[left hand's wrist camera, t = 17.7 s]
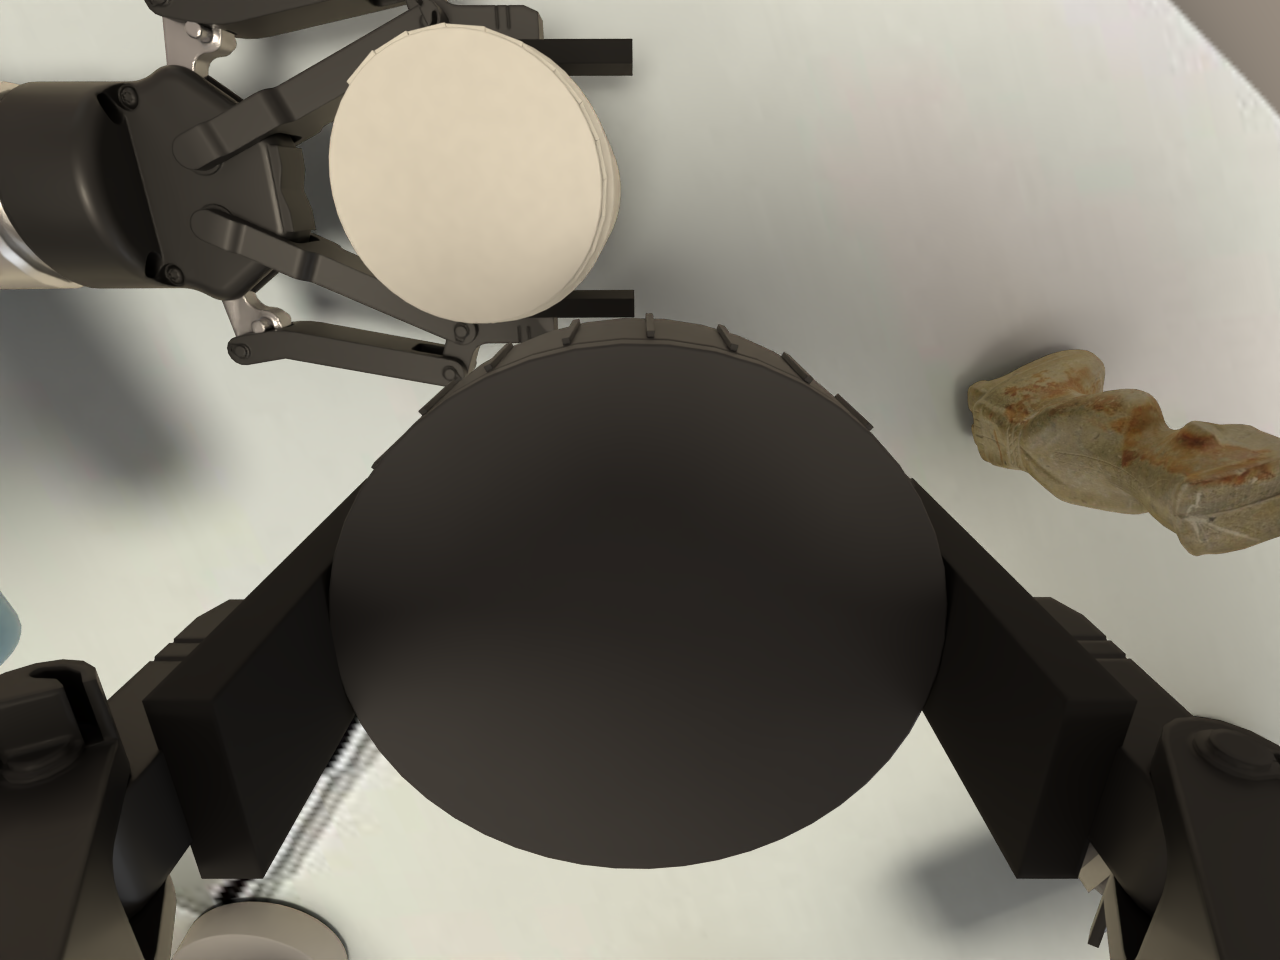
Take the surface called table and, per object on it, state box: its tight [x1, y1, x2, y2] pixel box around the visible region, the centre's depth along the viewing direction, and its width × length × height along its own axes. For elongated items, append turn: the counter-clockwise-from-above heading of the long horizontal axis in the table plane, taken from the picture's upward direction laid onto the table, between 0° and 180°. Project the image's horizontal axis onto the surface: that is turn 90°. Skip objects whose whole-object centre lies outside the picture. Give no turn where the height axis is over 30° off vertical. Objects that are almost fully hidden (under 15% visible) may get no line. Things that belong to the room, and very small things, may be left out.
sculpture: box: [968, 350, 1280, 556], centre depth 31 cm, size 6×7×15 cm
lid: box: [329, 313, 948, 869], centre depth 11 cm, size 9×10×2 cm
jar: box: [329, 23, 621, 323], centre depth 26 cm, size 8×8×16 cm
